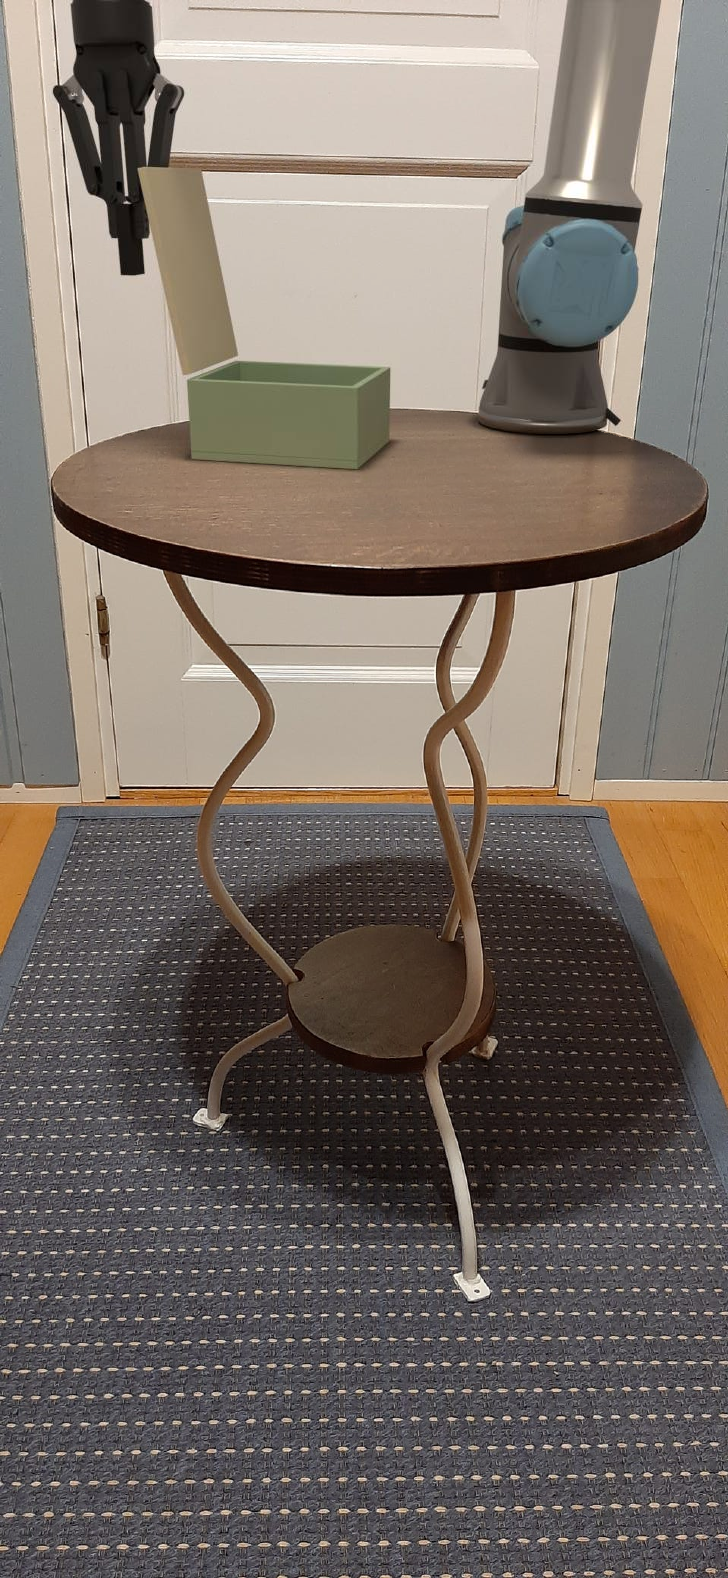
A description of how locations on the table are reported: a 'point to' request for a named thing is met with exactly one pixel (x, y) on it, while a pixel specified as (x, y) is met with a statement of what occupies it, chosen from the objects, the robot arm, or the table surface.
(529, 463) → the table surface
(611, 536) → the table surface
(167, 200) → the lid
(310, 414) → the chest
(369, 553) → the table surface
